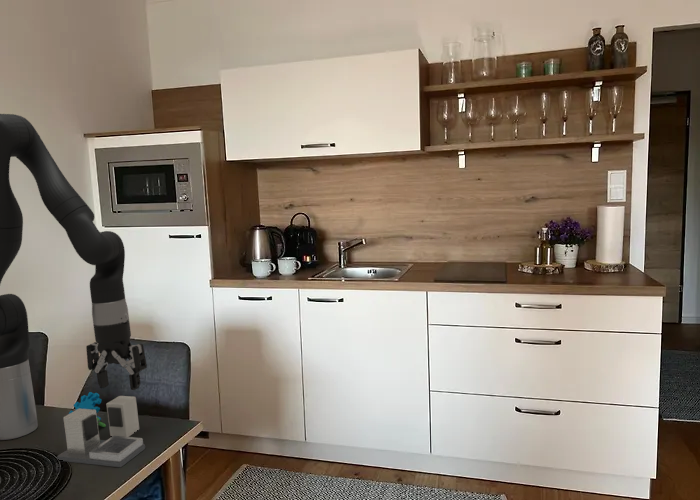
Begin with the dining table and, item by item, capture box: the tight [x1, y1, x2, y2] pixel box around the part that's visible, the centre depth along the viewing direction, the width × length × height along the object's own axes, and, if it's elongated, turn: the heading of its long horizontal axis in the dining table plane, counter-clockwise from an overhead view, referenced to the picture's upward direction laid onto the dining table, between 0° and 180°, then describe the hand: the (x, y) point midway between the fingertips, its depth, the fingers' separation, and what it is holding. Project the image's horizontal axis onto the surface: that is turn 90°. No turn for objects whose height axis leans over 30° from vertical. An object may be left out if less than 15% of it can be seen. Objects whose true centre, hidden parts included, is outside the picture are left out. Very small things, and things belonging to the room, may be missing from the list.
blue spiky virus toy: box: [68, 391, 107, 428], centre depth 135 cm, size 11×6×10 cm
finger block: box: [105, 395, 140, 437], centre depth 129 cm, size 4×5×8 cm
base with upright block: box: [56, 409, 146, 468], centre depth 119 cm, size 16×8×9 cm, turn 74°
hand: (119, 387), depth 128 cm, fingers open, 8 cm apart
